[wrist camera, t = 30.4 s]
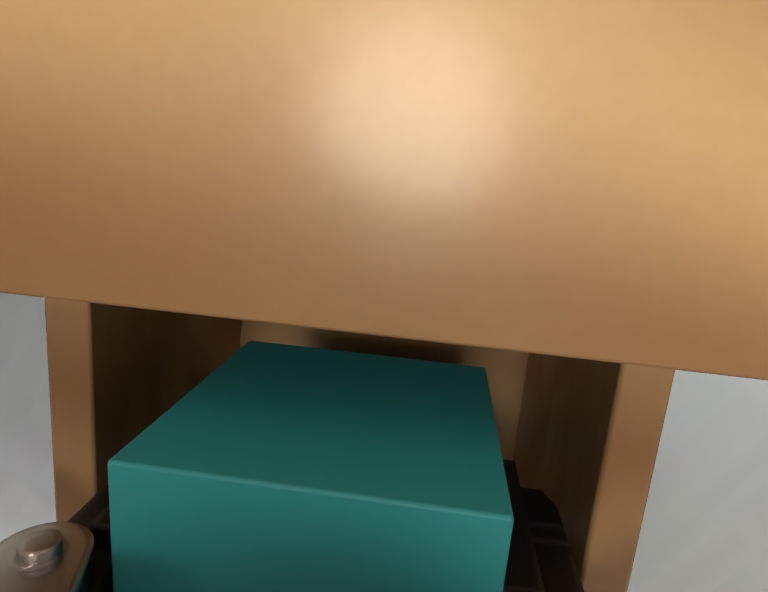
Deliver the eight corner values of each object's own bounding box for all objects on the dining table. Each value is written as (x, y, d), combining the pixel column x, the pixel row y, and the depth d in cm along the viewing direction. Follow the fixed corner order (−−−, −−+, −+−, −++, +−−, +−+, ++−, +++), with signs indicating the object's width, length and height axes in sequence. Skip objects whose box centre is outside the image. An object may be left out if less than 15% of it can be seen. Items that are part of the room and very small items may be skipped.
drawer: (518, 668, 19) (574, 1034, 11) (203, 617, 20) (39, 917, 12) (608, 139, 15) (804, 94, 7) (211, 107, 16) (-27, 35, 8)
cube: (458, 574, 12) (465, 839, 7) (244, 542, 13) (119, 770, 8) (485, 366, 11) (515, 518, 6) (249, 339, 12) (105, 460, 7)
